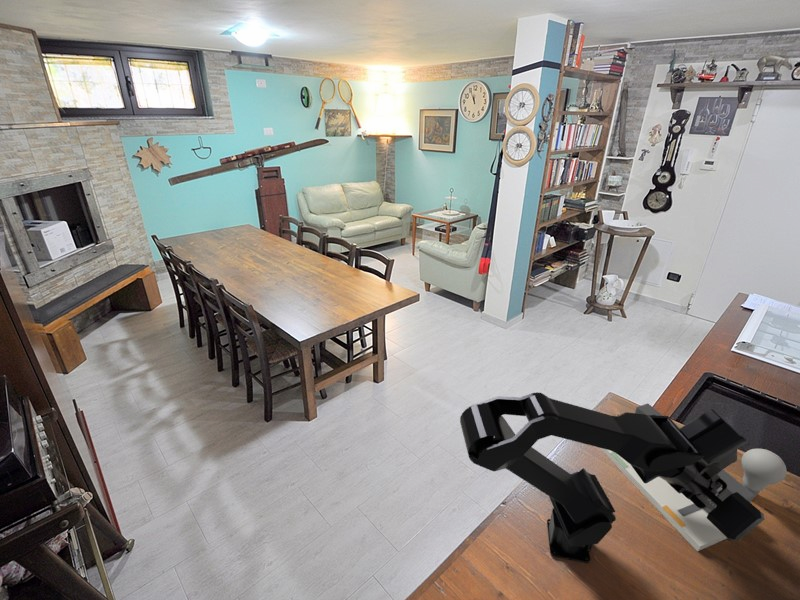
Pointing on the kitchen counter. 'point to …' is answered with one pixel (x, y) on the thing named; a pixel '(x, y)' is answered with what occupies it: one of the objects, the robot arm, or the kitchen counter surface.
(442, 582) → the kitchen counter surface
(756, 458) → the lightbulb
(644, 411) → the block
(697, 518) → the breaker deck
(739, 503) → the robot arm
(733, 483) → the block
